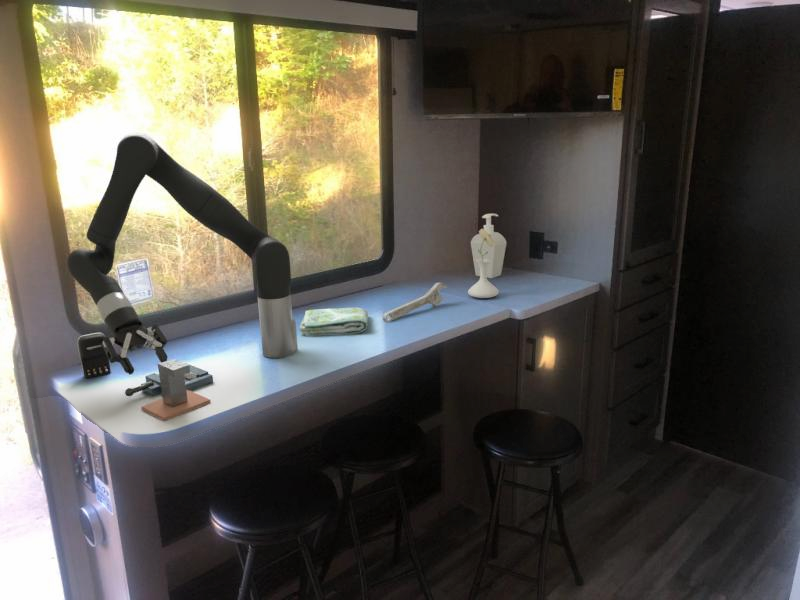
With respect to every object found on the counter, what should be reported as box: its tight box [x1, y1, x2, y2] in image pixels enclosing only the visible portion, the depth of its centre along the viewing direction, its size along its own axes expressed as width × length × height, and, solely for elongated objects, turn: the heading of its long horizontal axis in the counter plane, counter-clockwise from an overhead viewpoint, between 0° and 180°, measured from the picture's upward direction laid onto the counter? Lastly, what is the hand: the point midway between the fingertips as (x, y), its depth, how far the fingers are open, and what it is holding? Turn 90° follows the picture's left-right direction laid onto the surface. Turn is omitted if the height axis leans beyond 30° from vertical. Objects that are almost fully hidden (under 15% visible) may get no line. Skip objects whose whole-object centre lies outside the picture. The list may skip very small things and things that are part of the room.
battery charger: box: [76, 332, 112, 379], centre depth 168 cm, size 7×4×11 cm, turn 124°
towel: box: [299, 306, 369, 337], centre depth 204 cm, size 18×21×5 cm
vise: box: [124, 362, 214, 397], centre depth 158 cm, size 20×13×3 cm, turn 140°
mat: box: [140, 390, 211, 422], centre depth 148 cm, size 12×10×1 cm
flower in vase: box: [467, 228, 499, 299], centre depth 231 cm, size 13×11×25 cm
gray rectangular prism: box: [157, 358, 190, 408], centre depth 146 cm, size 4×7×10 cm, turn 50°
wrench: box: [382, 282, 448, 323], centre depth 216 cm, size 8×2×30 cm
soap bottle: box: [470, 213, 507, 279], centre depth 263 cm, size 12×10×26 cm
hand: (148, 367), depth 153 cm, fingers open, 8 cm apart
